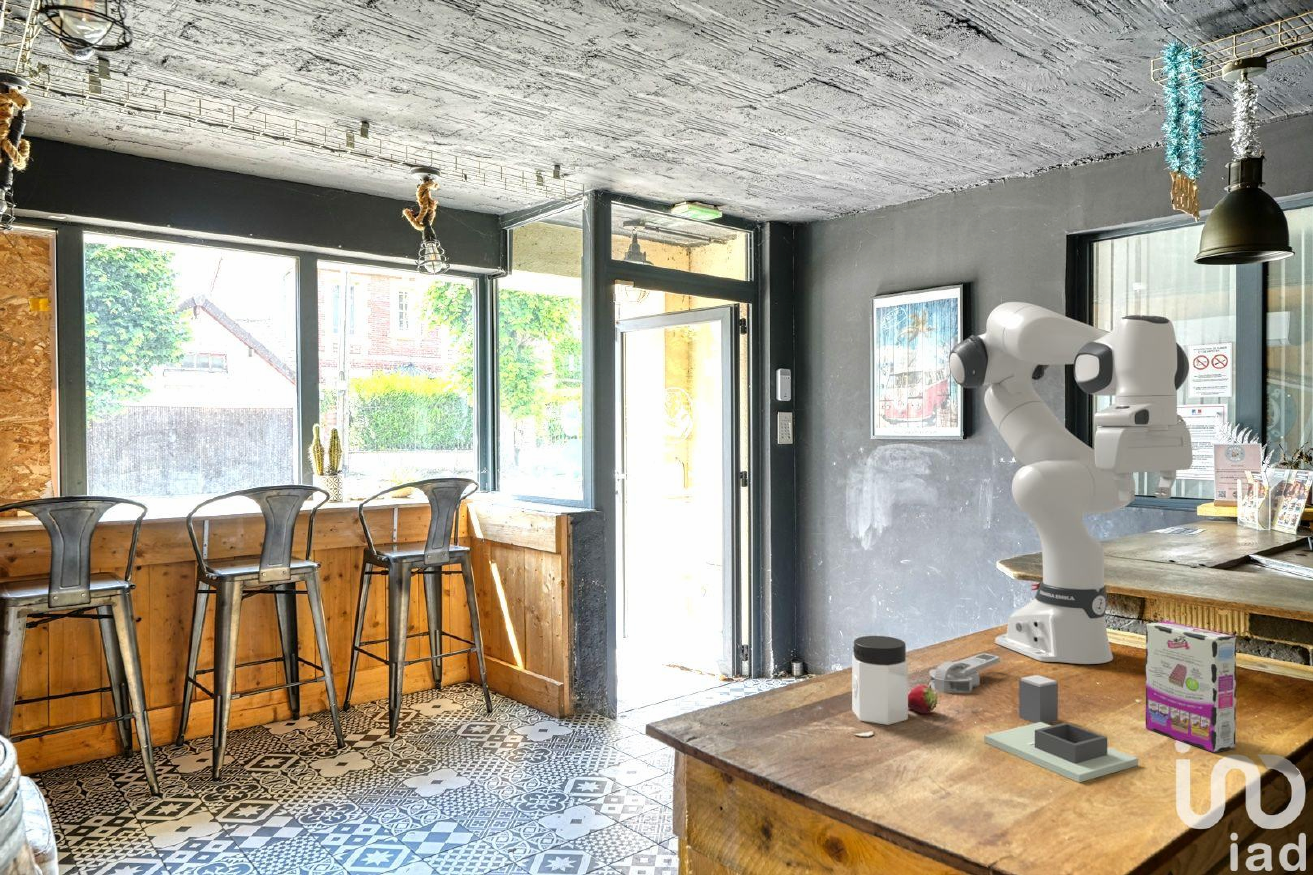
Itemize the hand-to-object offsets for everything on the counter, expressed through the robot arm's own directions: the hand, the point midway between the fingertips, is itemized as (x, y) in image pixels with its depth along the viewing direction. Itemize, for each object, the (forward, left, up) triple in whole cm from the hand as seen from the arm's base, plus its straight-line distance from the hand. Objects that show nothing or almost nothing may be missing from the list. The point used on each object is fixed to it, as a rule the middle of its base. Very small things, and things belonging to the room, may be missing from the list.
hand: (1145, 499), depth 142 cm
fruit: (-16, -33, -35) cm, 50 cm away
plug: (-5, -19, -34) cm, 40 cm away
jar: (-18, -40, -35) cm, 56 cm away
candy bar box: (+11, -6, -35) cm, 37 cm away
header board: (+6, -28, -34) cm, 45 cm away
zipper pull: (-25, -14, -35) cm, 45 cm away
